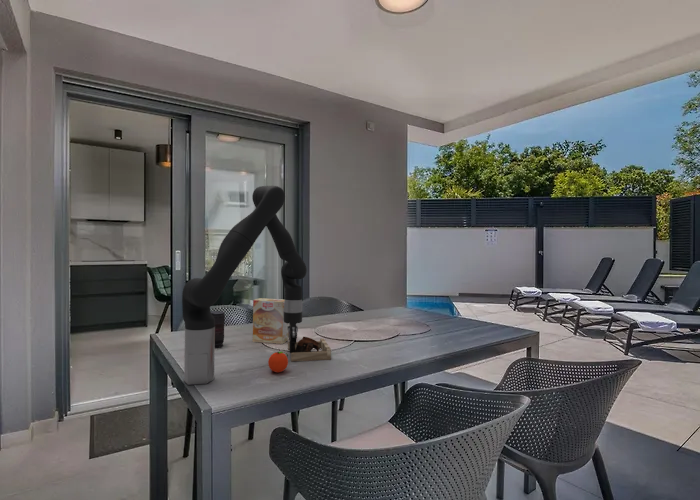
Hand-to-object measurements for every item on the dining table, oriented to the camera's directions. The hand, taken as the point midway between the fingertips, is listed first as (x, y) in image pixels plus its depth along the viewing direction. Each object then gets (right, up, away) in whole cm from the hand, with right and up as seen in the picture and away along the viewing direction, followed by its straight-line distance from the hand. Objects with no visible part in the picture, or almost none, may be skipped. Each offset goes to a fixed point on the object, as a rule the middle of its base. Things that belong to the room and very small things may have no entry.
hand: (292, 352), depth 158 cm
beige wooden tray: (+6, -1, +1) cm, 6 cm away
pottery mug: (+6, -1, 0) cm, 6 cm away
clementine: (-1, -1, -21) cm, 21 cm away
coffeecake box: (-13, -1, +22) cm, 25 cm away
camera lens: (-36, 0, +11) cm, 37 cm away
